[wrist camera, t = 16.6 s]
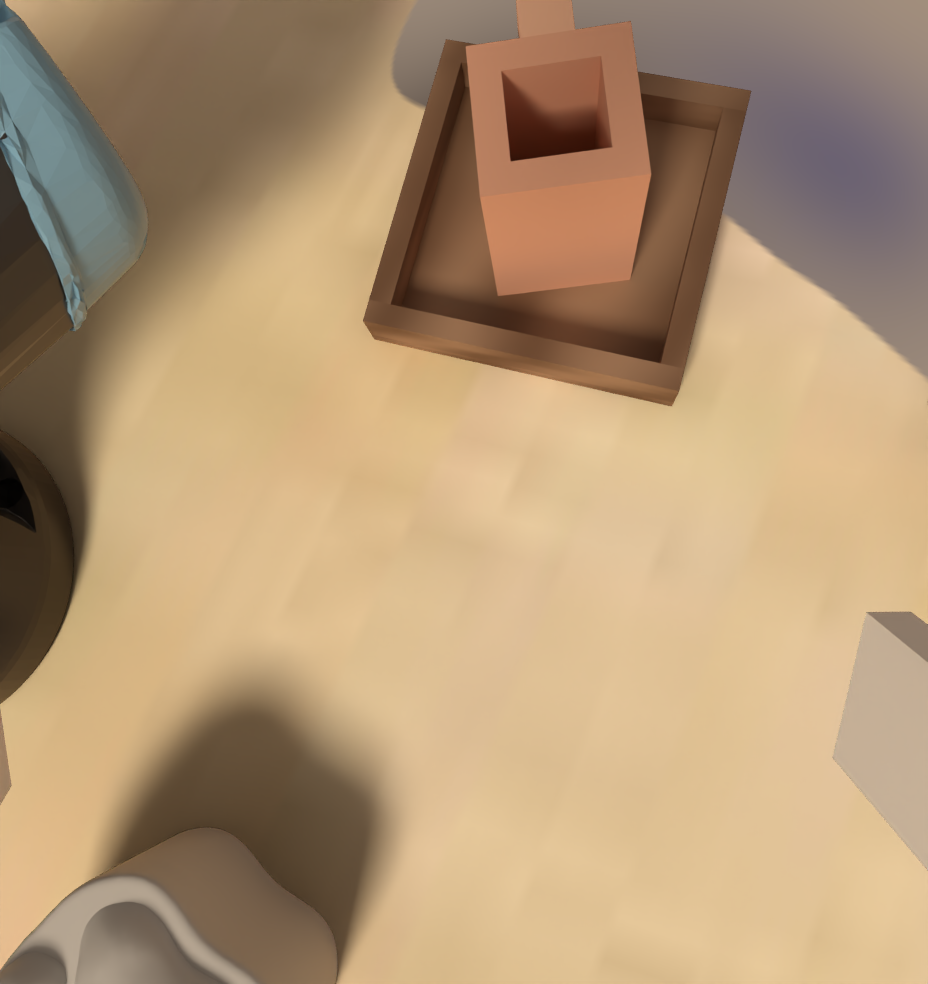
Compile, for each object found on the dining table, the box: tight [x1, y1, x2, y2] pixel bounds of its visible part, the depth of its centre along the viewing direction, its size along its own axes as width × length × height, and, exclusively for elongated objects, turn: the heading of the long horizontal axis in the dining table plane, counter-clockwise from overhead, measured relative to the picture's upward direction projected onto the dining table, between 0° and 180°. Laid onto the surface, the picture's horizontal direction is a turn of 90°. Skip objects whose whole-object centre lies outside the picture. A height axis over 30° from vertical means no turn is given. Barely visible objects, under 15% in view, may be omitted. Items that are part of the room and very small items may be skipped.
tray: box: [363, 40, 751, 406], centre depth 39 cm, size 14×14×2 cm
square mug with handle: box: [466, 0, 651, 296], centre depth 35 cm, size 6×8×9 cm
